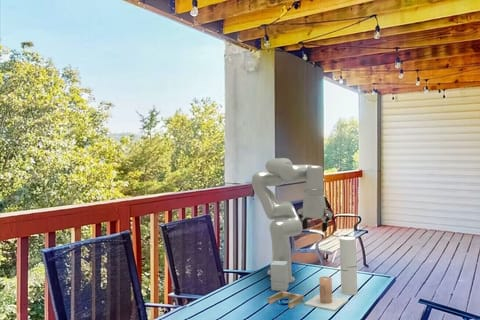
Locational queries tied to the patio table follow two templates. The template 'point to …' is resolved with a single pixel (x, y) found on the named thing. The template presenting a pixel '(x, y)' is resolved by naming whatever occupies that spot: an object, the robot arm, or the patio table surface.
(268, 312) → the patio table surface
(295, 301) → the cradle
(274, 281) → the supplement box
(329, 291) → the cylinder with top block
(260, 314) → the patio table surface
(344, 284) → the cylindrical container
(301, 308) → the patio table surface
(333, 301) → the mat
